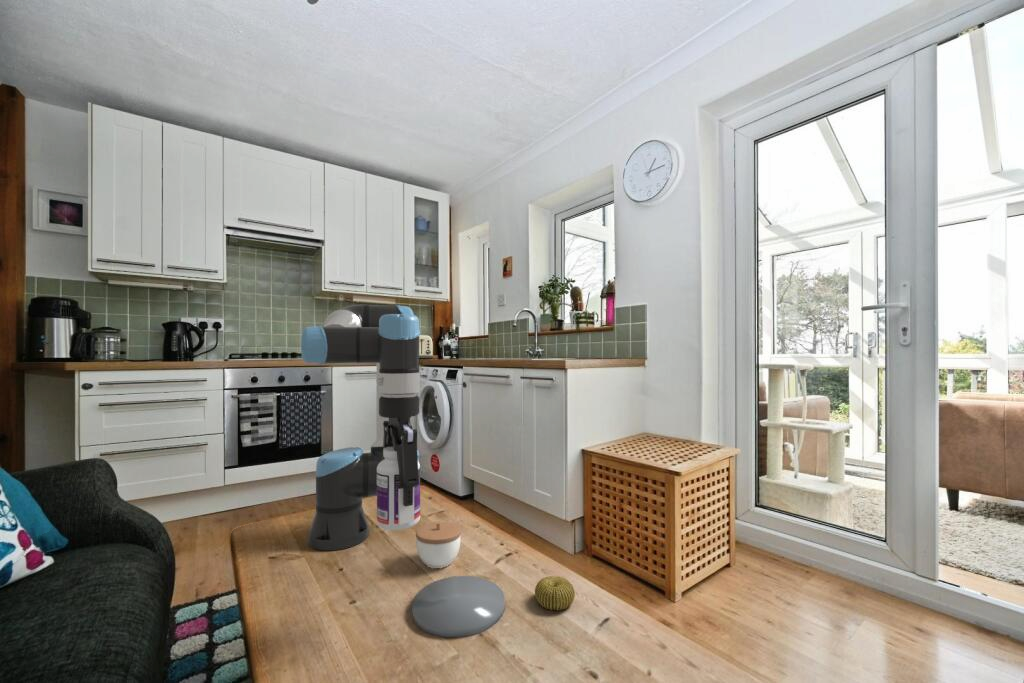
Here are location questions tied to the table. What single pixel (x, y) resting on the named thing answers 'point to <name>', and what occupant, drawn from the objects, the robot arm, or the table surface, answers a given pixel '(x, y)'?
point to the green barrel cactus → (554, 593)
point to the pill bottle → (392, 493)
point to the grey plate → (458, 606)
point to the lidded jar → (438, 543)
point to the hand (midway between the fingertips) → (399, 514)
